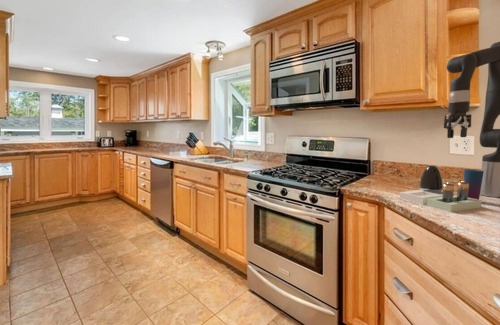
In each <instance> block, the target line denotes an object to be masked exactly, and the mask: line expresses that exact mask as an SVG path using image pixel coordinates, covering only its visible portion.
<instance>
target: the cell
mask: <svg viewBox="0 0 500 325" xmlns="http://www.w3.org/2000/svg"><path fill="white" fill-rule="evenodd" d="M454 191H455V184H454V183H452V182H446V183H443V189H442V192H443V197H442V202H445V203H451V202H453V196H454Z"/></svg>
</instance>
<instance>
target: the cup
mask: <svg viewBox="0 0 500 325" xmlns="http://www.w3.org/2000/svg"><path fill="white" fill-rule="evenodd" d="M483 173H484V171H483V170H482V169H475V168H465V169H463V181H466V182H467V183H469V189H468V198H473V199H478V200H480V197H481V194H480V191H481V185H482V179H483Z"/></svg>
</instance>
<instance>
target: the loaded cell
mask: <svg viewBox="0 0 500 325" xmlns="http://www.w3.org/2000/svg"><path fill="white" fill-rule="evenodd" d="M468 189H469V183H467V182H466V181H464V180H461V181H458V182H457V189H456V190H457V193H456V195H457V202H458V201H465V200H468Z"/></svg>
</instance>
